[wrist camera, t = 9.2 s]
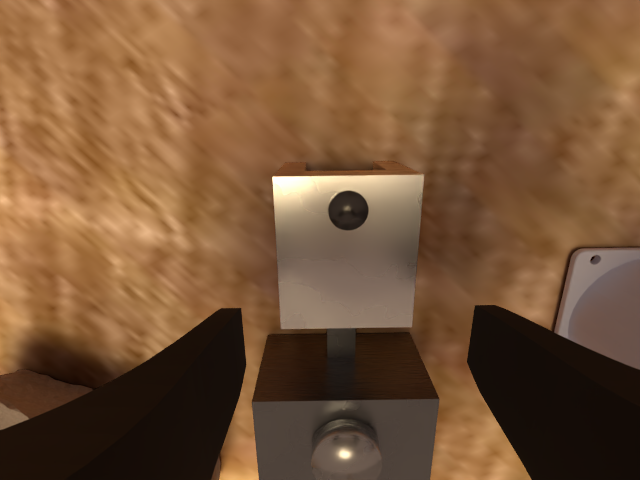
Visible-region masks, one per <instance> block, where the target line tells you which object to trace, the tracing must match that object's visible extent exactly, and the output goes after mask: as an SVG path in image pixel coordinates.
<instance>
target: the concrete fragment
mask: <svg viewBox="0 0 640 480" xmlns="http://www.w3.org/2000/svg"><path fill="white" fill-rule="evenodd" d="M91 391H93V389H91V388H88V387H85V386H82V385H72V384H68V383H65V382H62V381H58V380H54V379H53V378H51V377H49V376H48V375H40V374H38V373H36V372H33V371H30V370H18V371H17V372H15V373H10V374H5V375H0V430H2V429H5V428H7V427H10V426H13V425H15V424H18V423H20V422H23V421H25V420H28V419H30V418H33V417H35V416H38V415H40V414H43V413H45V412H47V411H50V410H52V409H54V408H57V407H59V406H61V405H64V404H66V403H68V402H70V401H72V400H74V399H76V398H78V397H80V396H82V395H84V394H87V393H89V392H91ZM220 466H221V462H220V459H219V457H218V460H217V463H216V466H215V469H214V472H213V475H212V479H211V480H219V477H220Z"/></svg>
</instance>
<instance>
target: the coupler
mask: <svg viewBox="0 0 640 480" xmlns="http://www.w3.org/2000/svg"><path fill="white" fill-rule="evenodd" d="M438 406H439V397H438V395H437V393H436V390H435V388H434V386H433V384H432V381H431V379H430V377H429V375H428V372H427V370H426V368H425V366H424V364H423V361H422V359H421V357H420V355H419V352H418V350H417V348H416V346H415V344H414V341H413V339H412V337H411V335H410V333H356V328H327V334H290V335H268V336H267V340H266V345H265V349H264V353H263V357H262V362H261V366H260V370H259V374H258V378H257V383H256V387H255V391H254V395H253V399H252V408H253V419H254V430H255V441H256V452H257V463H258V473H259V480H430V475H431V466H432V458H433V449H434V440H435V432H436V423H437V415H438Z"/></svg>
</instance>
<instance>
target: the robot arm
mask: <svg viewBox="0 0 640 480" xmlns="http://www.w3.org/2000/svg"><path fill="white" fill-rule="evenodd" d="M594 255H595V258H594V259H593V260H592V261H590V260H591V258H592V257H593V256H594ZM467 363H468V365H469V368H470V370H471V373H472V375H473V378H474V380H475V382H476V384H477V387H478V389H479V391H480V393H481V395H482V396H483V398H484V400H485V402H486V403H487V405H488V407H489V408H490V410H491V412H492V413H493V415H494V417H495V418H496V420H497V422H498V423H499V425H500V427H501V428H502V430H503V432H504V433H505V435H506V437H507V438H508V440H509V442H510V443H511V445H512V447H513V448H514V450H515V451H516V453H517V455H518V456H519V458H520V460H521V461H522V463H523V465H524V467H525V468H526V470H527V472H528V474H529V476H530V477H531V479H532V480H640V248H583V249H578V250H577V251H575V252H574V253H573V255H572V257H571V260H570V265H569V269H568V274H567V278H566V282H565V287H564V291H563V295H562V300H561V304H560V309H559V313H558V317H557V322H556V326H555V330H554V332H552V331H550V330H548V329H546V328H544V327H542V326H540V325H538V324H536V323H534V322H532V321H530V320H528V319H526V318H524V317H522V316H519V315H517V314H515V313H513V312H511V311H509V310H506V309H504V308H501V307H499V306H496V305H475V309H474V316H473V323H472V330H471V337H470V344H469V351H468V359H467ZM245 368H246V356H245V346H244V335H243V325H242V314H241V308H221V309H220V310H218V311H216V312H215V313H214V314H212V315H211V316H209V317H208V318H207V319H205V320H204V321H203V322H201V323H200V324H199V325H198V326H196V327H195V328H193V329H192V330H191V331H189V332H188V333H187V334H185V335H184V336H183V337H181V338H180V339H179V340H177V341H176V342H174V343H173V344H171V345H170V346H168V347H167V348H165V349H164V350H162V351H161V352H159V353H158V354H156V355H155V356H153V357H152V358H150V359H149V360H147V361H146V362H144V363H142V364H141V365H139V366H137V367H136V368H134V369H132V370H131V371H129V372H127V373H125V374H124V375H122V376H120V377H118V378H116V379H115V380H113V381H111V382H109V383H107V384H105V385H103V386H101V387H99V388H97V389H95V390H93V391H91V392H89V393H87V394H84V395H82V396H80V397H78V398H76V399H74V400H72V401H70V402H68V403H66V404H64V405H61V406H59V407H57V408H54V409H52V410H50V411H47V412H45V413H43V414H40V415H38V416H35V417H33V418H30V419H28V420H25V421H23V422H20V423H18V424H15V425H13V426H10V427H7V428H5V429H2V430H0V480H211V479H212V475H213V472H214V469H215V466H216V463H217V460H218V457H219V454H220V451H221V449H222V446H223V443H224V440H225V437H226V434H227V431H228V428H229V425H230V423H231V420H232V417H233V414H234V411H235V408H236V405H237V402H238V399H239V396H240V392H241V388H242V383H243V378H244V373H245Z"/></svg>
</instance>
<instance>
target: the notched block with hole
mask: <svg viewBox="0 0 640 480" xmlns="http://www.w3.org/2000/svg"><path fill="white" fill-rule="evenodd" d="M423 183H424V174H422V173H419V172H417V171H415V170H413V169H410V168H408V167H406V166H404V165H402V164H399V163H397V162H395V161H373V170H343V171H306V162H285V163H284V164H283V166H282V167H281V168H280V169H279V170H278V171H277V172H276V173H275V175H274V176H273V194H274V212H275V230H276V249H277V267H278V285H279V303H280V321H281V329H323V328H388V327H412V320H413V308H414V295H415V283H416V270H417V258H418V245H419V233H420V221H421V208H422V196H423Z"/></svg>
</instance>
